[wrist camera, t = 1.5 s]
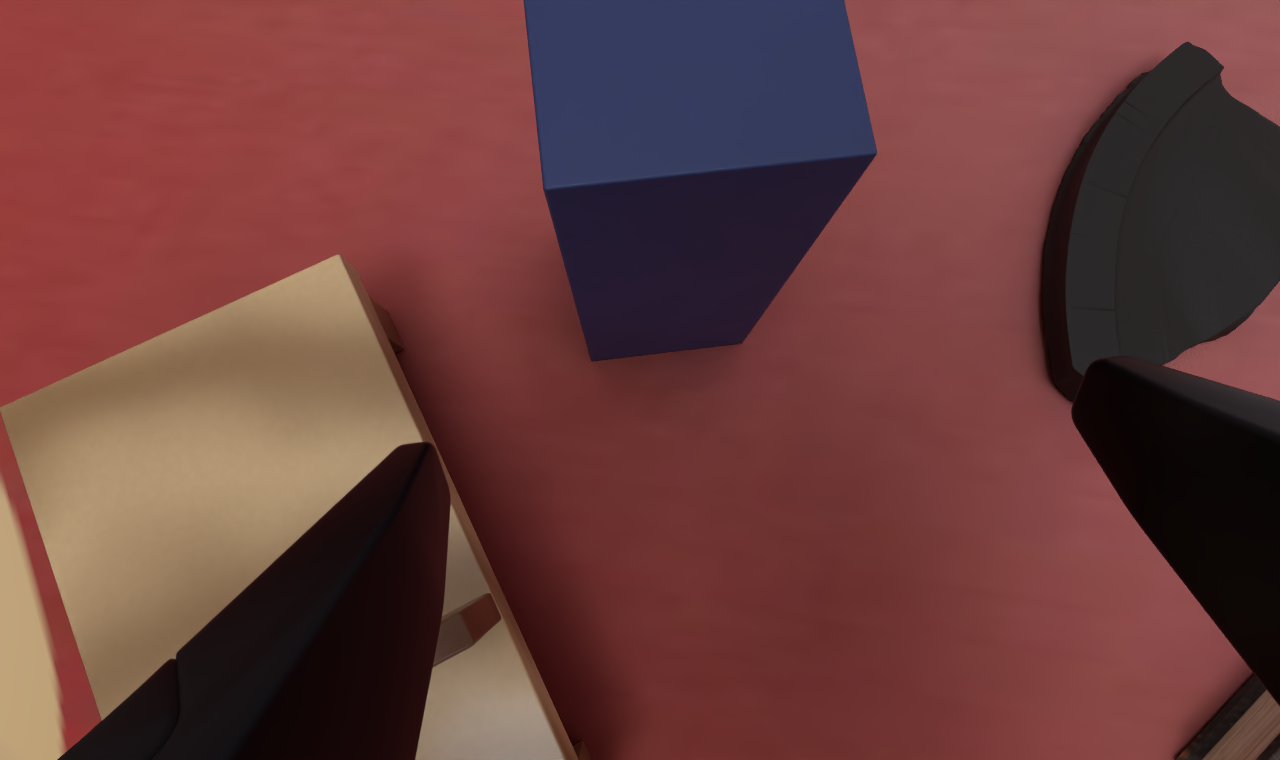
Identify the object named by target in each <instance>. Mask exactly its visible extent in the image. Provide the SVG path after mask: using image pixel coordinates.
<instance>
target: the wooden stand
mask: <svg viewBox="0 0 1280 760" xmlns="http://www.w3.org/2000/svg"><path fill="white" fill-rule="evenodd" d="M403 349H404V347H403V344H402V342H401V340H400V338H399V336H398V333H397V331H396V329H395V327H394V325H393V322H392V320H391V318H390V316H389V314H388V312H387V311H386V310H385V309H383V308H382V307H381V306H379V305H378V304H377V303H376V302H374V301H373V300H372V299H370V298H369V296H368V294H367V292H366V289H365V287H364V285H363V283H362V281H361V278H360V276H359V274H358V272H357V269H356V268H354V267H353V266H352V265H351V264H350V263H349V262H347V261H346V260H345V259H344V258H343V257H341V256H340V255H339V254H338V255H335V256H333V257H331V258H329V259H326V260H324V261H322V262H320V263H318V264H315V265H313V266H311V267H309V268H307V269H304V270H302V271H300V272H298V273H296V274H293V275H291V276H289V277H287V278H285V279H282V280H280V281H278V282H276V283H273V284H271V285H269V286H267V287H265V288H262V289H260V290H258V291H256V292H254V293H251V294H249V295H247V296H245V297H243V298H240V299H238V300H236V301H234V302H232V303H229V304H227V305H225V306H223V307H221V308H218V309H216V310H214V311H212V312H210V313H207V314H205V315H203V316H201V317H199V318H196V319H194V320H192V321H190V322H187V323H185V324H183V325H181V326H179V327H176V328H174V329H172V330H170V331H168V332H165V333H163V334H161V335H159V336H157V337H154V338H152V339H150V340H148V341H146V342H143V343H141V344H139V345H137V346H135V347H132V348H130V349H128V350H126V351H124V352H121V353H119V354H117V355H115V356H113V357H110V358H108V359H106V360H104V361H101V362H99V363H97V364H95V365H93V366H90V367H88V368H86V369H84V370H82V371H79V372H77V373H75V374H73V375H71V376H68V377H66V378H64V379H62V380H60V381H57V382H55V383H53V384H51V385H49V386H46V387H44V388H42V389H40V390H38V391H35V392H33V393H31V394H29V395H26V396H24V397H22V398H20V399H18V400H15V401H13V402H11V403H9V404H7V405H4V406H2V407H0V411H1V414H2V417H3V421H4V424H5V427H6V430H7V433H8V436H9V439H10V442H11V445H12V448H13V451H14V454H15V457H16V460H17V463H18V466H19V469H20V472H21V475H22V478H23V481H24V485H25V488H26V491H27V494H28V497H29V500H30V503H31V506H32V509H33V512H34V515H35V518H36V521H37V524H38V527H39V530H40V533H41V536H42V539H43V542H44V545H45V549H46V552H47V555H48V558H49V561H50V564H51V567H52V570H53V573H54V576H55V579H56V582H57V585H58V588H59V591H60V594H61V597H62V600H63V603H64V606H65V609H66V613H67V616H68V619H69V622H70V625H71V628H72V631H73V634H74V637H75V640H76V643H77V646H78V649H79V652H80V655H81V658H82V661H83V664H84V667H85V670H86V673H87V677H88V680H89V683H90V686H91V689H92V692H93V695H94V698H95V701H96V704H97V707H98V710H99V713H100V716H101V719H102V720H103V719H104V718H105V717H107V716H108V715H109V714H110V713H111V712H112V711H113V710H114V709H115V708H117V707H118V706H119V705H120V704H121V703H122V702H123V701H124V700H125V699H126V698H128V697H129V696H130V695H131V694H132V693H133V692H134V691H135V690H136V689H138V688H139V687H140V686H141V685H142V684H143V683H144V682H145V681H146V680H147V679H148V678H149V677H150V676H151V675H153V674H154V673H155V672H156V671H157V670H158V669H159V668H160V667H161V666H162V665H163V664H164V663H165V662H166V661H168V660H169V659H172V658H173V659H176V653H177V652H178V651H179V650H180V649H181V648H182V647H183V646H184V645H185V644H186V643H187V642H188V641H189V640H190V639H191V638H193V637H194V636H195V635H196V634H197V633H198V632H199V631H200V630H201V629H202V628H203V627H204V626H205V625H207V624H208V623H209V622H210V621H211V620H212V619H213V618H214V617H215V616H216V615H217V614H218V613H219V612H220V611H222V610H223V609H224V608H225V607H226V606H227V605H228V604H229V603H230V602H231V601H232V600H233V599H234V598H235V597H237V596H238V595H239V594H240V593H241V592H242V591H243V590H244V589H245V588H246V587H247V586H248V585H249V584H250V583H252V582H253V581H254V580H255V579H256V578H257V577H258V576H259V575H260V574H261V573H262V572H263V571H264V570H266V569H267V568H268V567H269V566H270V565H271V564H272V563H273V562H274V561H275V560H276V559H277V558H278V557H279V556H281V555H282V554H283V553H284V552H285V551H286V550H287V549H288V548H289V547H290V546H291V545H292V544H293V543H294V542H296V541H297V540H298V539H299V538H300V537H301V536H302V535H303V534H304V533H305V532H306V531H307V530H308V529H309V528H311V527H312V526H313V525H314V524H315V523H316V522H317V521H318V520H319V519H320V518H321V517H322V516H323V515H324V514H326V513H327V512H328V511H329V510H330V509H331V508H332V507H333V506H334V505H335V504H336V503H337V502H338V501H340V500H341V499H342V498H343V497H344V496H345V495H346V494H347V493H348V492H349V491H350V490H351V489H352V488H353V487H355V486H356V485H357V484H358V483H359V482H360V481H361V480H362V479H363V478H364V477H365V476H366V475H367V474H368V473H370V472H371V471H372V470H373V469H374V468H375V467H376V466H377V465H378V464H379V463H380V462H381V461H382V460H383V459H385V458H386V457H387V456H388V455H389V454H390V453H391V452H392V451H393V450H394V449H395V448H397V447H398V446H400V445H403V444H409V443H417V442H430V443H432V444H433V446H434V447H435V449H436V451H437V454H438V457H439V460H440V463H441V465H442V468H443V471H444V474H445V477H446V480H447V483H448V486H449V490H450V499H451V506H450V521H449V536H448V551H447V566H446V582H445V595H444V606H443V613H442V619H441V626H440V631H439V636H438V642H437V647H436V652H435V658H434V663H433V668H432V673H431V679H430V684H429V689H428V695H427V700H426V705H425V711H424V716H423V721H422V727H421V732H420V737H419V743H418V748H417V753H416V759H415V760H592V759H591V756H590V754H589V752H588V750H587V748H586V745H585V743H584V742H583V741H581V742H579V743H577V744H575V745H574V746H572V744H571V742H570V740H569V738H568V735H567V733H566V731H565V729H564V727H563V724H562V722H561V720H560V718H559V716H558V713H557V711H556V709H555V707H554V704H553V702H552V700H551V698H550V696H549V693H548V691H547V689H546V687H545V685H544V682H543V680H542V678H541V676H540V674H539V671H538V669H537V667H536V665H535V663H534V660H533V658H532V656H531V654H530V651H529V649H528V647H527V645H526V643H525V640H524V638H523V636H522V634H521V632H520V629H519V627H518V625H517V623H516V621H515V618H514V616H513V614H512V612H511V610H510V607H509V605H508V603H507V601H506V598H505V596H504V594H503V592H502V590H501V587H500V585H499V583H498V581H497V579H496V576H495V574H494V572H493V570H492V568H491V565H490V563H489V561H488V559H487V557H486V554H485V552H484V550H483V548H482V545H481V543H480V541H479V539H478V537H477V534H476V532H475V530H474V528H473V526H472V523H471V521H470V519H469V517H468V515H467V512H466V510H465V508H464V506H463V504H462V501H461V499H460V497H459V495H458V493H457V490H456V488H455V486H454V484H453V481H452V479H451V477H450V475H449V473H448V470H447V468H446V466H445V464H444V462H443V459H442V457H441V455H440V453H439V451H438V448H437V446H436V444H435V442H434V440H433V437H432V435H431V433H430V431H429V428H428V426H427V424H426V422H425V420H424V417H423V415H422V413H421V411H420V409H419V406H418V404H417V402H416V400H415V398H414V395H413V393H412V391H411V389H410V387H409V384H408V382H407V380H406V378H405V375H404V373H403V371H402V369H401V367H400V364H399V362H398V360H397V358H396V356H395V353H397V352H399V351H401V350H403Z"/></svg>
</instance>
